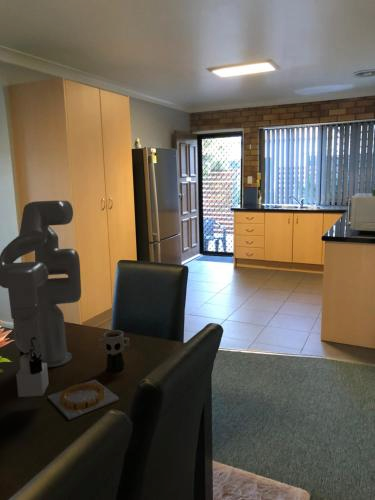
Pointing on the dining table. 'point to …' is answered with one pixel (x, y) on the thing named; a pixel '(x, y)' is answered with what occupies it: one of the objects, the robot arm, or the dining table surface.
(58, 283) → the robot arm
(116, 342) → the character mug
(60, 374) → the dining table surface
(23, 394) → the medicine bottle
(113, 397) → the white square ringed board
